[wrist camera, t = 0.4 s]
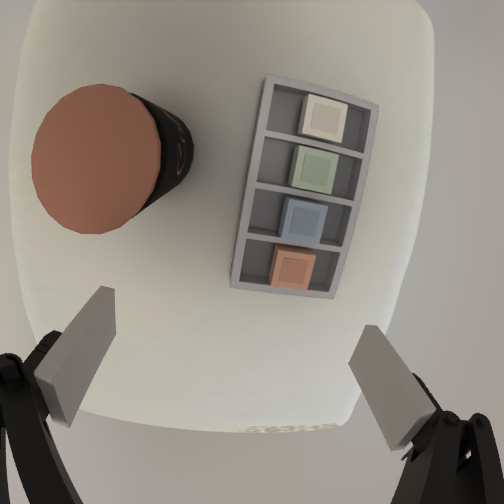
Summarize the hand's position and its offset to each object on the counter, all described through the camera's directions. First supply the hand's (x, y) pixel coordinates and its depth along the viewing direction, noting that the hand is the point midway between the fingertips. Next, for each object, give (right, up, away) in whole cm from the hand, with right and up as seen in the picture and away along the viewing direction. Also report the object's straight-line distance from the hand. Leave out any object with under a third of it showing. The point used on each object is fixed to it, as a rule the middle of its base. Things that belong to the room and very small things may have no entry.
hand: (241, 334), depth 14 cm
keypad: (+7, +12, +22) cm, 26 cm away
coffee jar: (-12, +16, +19) cm, 28 cm away
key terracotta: (+5, +3, +23) cm, 23 cm away
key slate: (+6, +8, +21) cm, 23 cm away
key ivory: (+8, +19, +17) cm, 27 cm away
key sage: (+7, +14, +19) cm, 24 cm away
